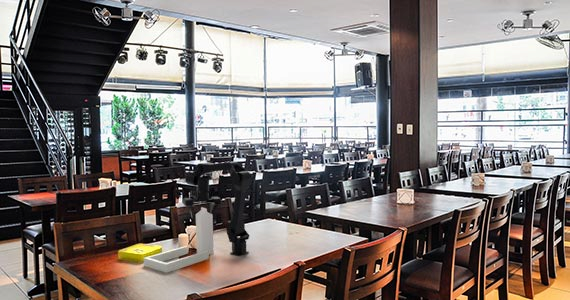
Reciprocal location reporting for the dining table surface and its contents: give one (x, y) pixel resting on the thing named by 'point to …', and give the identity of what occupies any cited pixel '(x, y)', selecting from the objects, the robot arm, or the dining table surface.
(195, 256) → the u rest
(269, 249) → the dining table surface
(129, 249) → the element tile
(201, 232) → the milk
